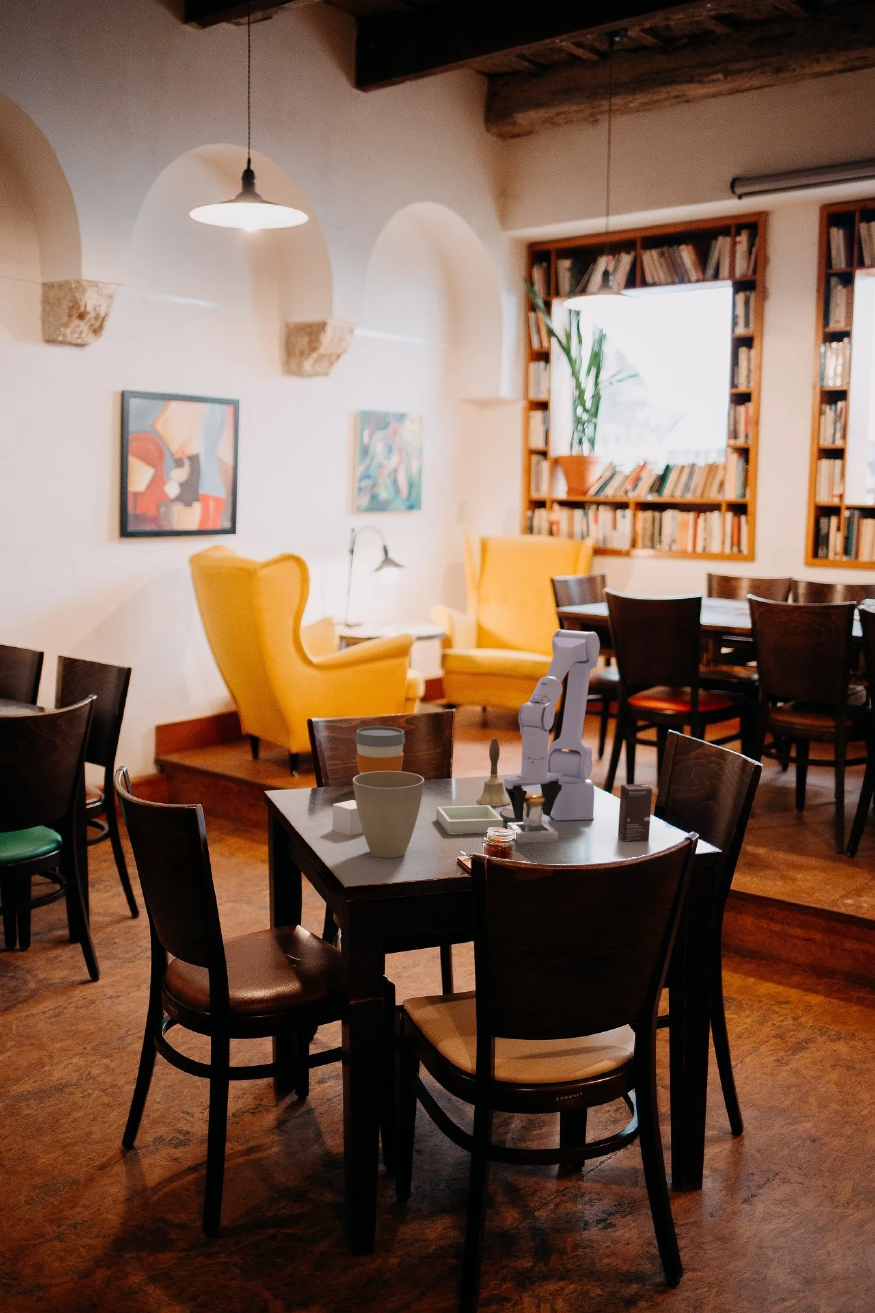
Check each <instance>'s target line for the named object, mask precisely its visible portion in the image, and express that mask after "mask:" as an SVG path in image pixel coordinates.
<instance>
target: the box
mask: <svg viewBox="0 0 875 1313" xmlns="http://www.w3.org/2000/svg"><path fill="white" fill-rule="evenodd" d="M652 798H653V788H652V787H650V786H649V785H648V784H646V783H641V784H638V783H637V784H636V783H635V784H634V783H631V784H620V796H619V799H620V800H619V813H618V829H617V830H618V831H617V837H618V838H619V839H620V840H621V841H623V842H634V840H640V841H649V839H650V825H651V814H652V813H651V812H652V800H653V799H652Z"/></svg>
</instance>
